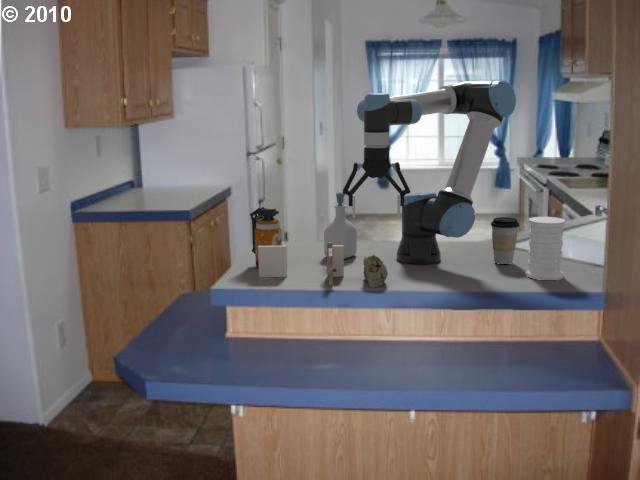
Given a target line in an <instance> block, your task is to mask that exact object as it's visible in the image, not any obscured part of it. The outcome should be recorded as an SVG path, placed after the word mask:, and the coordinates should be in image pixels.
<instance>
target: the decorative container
mask: <svg viewBox="0 0 640 480" xmlns="http://www.w3.org/2000/svg"><path fill="white" fill-rule="evenodd" d="M528 224H529V225H530V229H529V235H530V236H529V241H528V244H529V249H528V255H529V256H528V260H527V263H528V268H527V269H526V270H525V271H524V276H525V275H526V276H528V277H530V278H534V279H541V280H556V281H560V280H562V279H564V272H563V271H562V270H561V267H562V256H563V251H562V247H563V245H564V242H563V236H564V230H563V229H564V228H563V227H565V226H566V219H564V218H560V217H556V216H555V217H553V216H535V217H534V216H533V217H530V218H528ZM526 276H525V277H526ZM528 277H527V278H528ZM530 278H529V279H530ZM534 279H533V280H534Z"/></svg>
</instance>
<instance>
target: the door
mask: <svg viewBox="0 0 640 480" xmlns="http://www.w3.org/2000/svg"><path fill="white" fill-rule="evenodd" d="M328 255H329V277H328V283H329V286H333V285H334V284H333V282H334V281H333V280H334V279H333V278H334V277H333V272H336V268H332V248H328Z"/></svg>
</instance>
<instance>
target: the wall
mask: <svg viewBox="0 0 640 480" xmlns="http://www.w3.org/2000/svg"><path fill="white" fill-rule="evenodd" d="M287 247H288V246H287V245H282V246H258V261H259V267H258V278H288V250H287V249H288V248H287ZM328 248H332V268H336V272H333V278H335V277H337V278H338V277H339V278H340V277H345V275H344V273H345V272H344V271H345V270H344V269H345V266H344V264H345V263H344V260H345V259H344V245H333V242H327V256H326V259H327V260H326V265H327V266H326V267H327V269H326V272H327V273H326V274H327V275H326V276H328V278H329V255H328Z"/></svg>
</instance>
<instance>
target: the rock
mask: <svg viewBox="0 0 640 480" xmlns="http://www.w3.org/2000/svg"><path fill="white" fill-rule="evenodd" d="M363 266H364V267H363V273H362V274H363V277H364V279H365V280H366V282H367V283H368V287H369V288H371V289H374V288H379V287H381V286H383V285H384V284H385V281H386V279H387V278H388V275H389V273H388V270H387V269H388V268H387V266H386V265H385V264H384V261H383V260H382V259H381V258H380V257H378V256H376V254H373V255H370V256H369V255H368V256H364V258H363Z"/></svg>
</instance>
